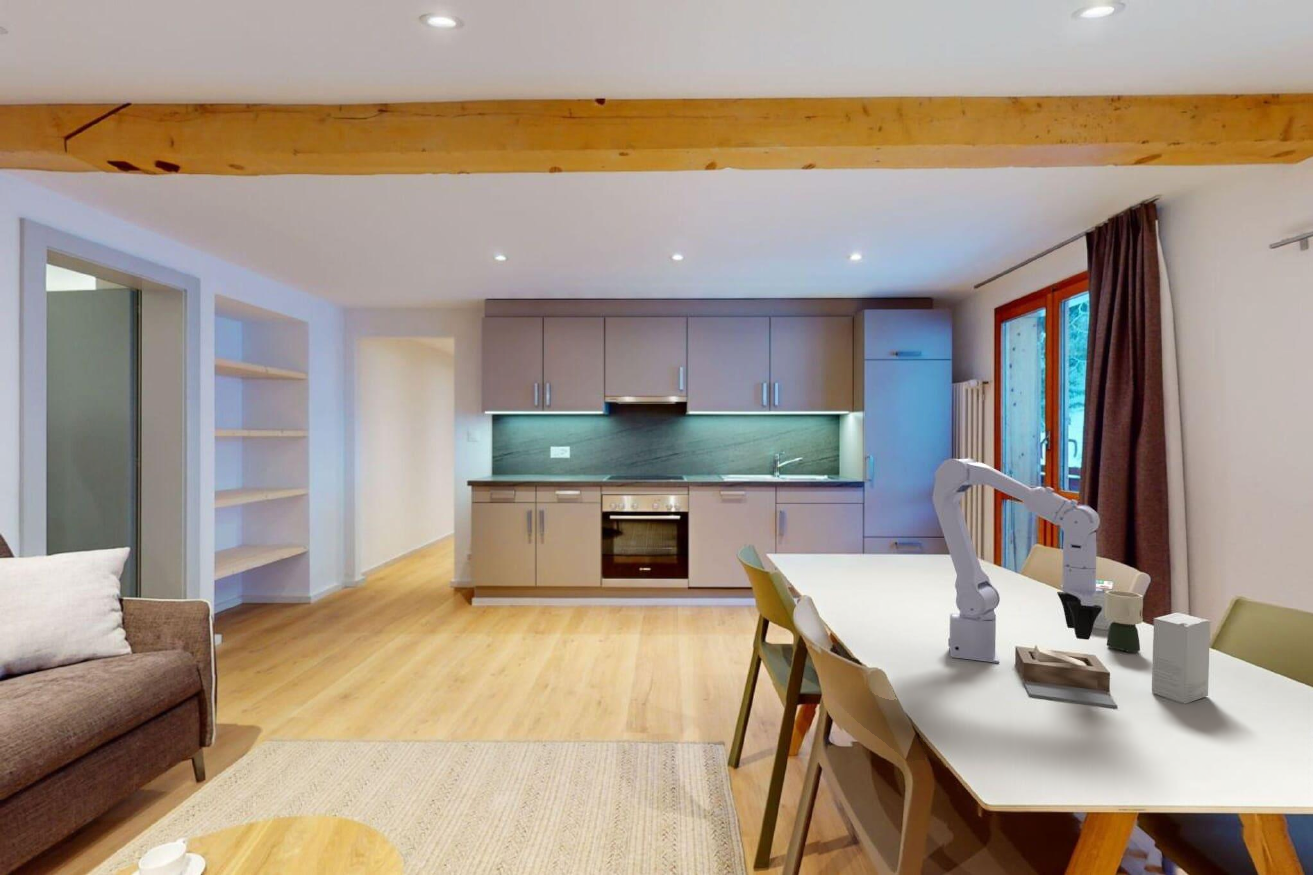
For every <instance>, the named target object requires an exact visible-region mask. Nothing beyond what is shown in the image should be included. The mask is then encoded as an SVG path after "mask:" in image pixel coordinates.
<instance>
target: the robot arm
mask: <svg viewBox="0 0 1313 875" xmlns="http://www.w3.org/2000/svg"><path fill="white" fill-rule="evenodd" d="M934 477H935V482H934V487H933V493H932V498H931V499H932V504H933V506H934V510H935V513H936V515H937V519H938V522H939V524H940V527H941V530H942V534H943V537H944V540H945V542H946V546H947V548H948V552H949V554H950V555H949V556H950V558H951V561H952V564H953V567H954V570H955V573H956V577H955V582H954V588H955V590H956V597H955V604H956V607H957V609H958V610H959V613H950V615H949V637H948V640H947V641H948V642H947V644H948V649H949V652H950V658H954V659H955V658H957V659H961V660H962V659H963V660H970V661H971V660H972V661H979V662H989V663H995V664H996V663H1000V659H999V657H998V654H997V651H996V638H997V637H996V628H997V627H996V626H997V624H996V621H997V615H996V613H995V609H996V608H997V607H998V606H999V604H1000V601H1001V600H1000V599H1001V597H1000V593H999V591H998V590H997V588H995V586H994V585H993V584H992V583H991V581H990V578H989V576H988V575H987V574H986V573H985V571H983V570H982V567H981V563H980V561H979V557H978V555H977V553H976V550H975V547H974V543H973V541H972V537H971V534H970V532H969V528H968V525H967V522H966V519H965V517H964V514H963V510H962V508H961V504H960V501H961V499H962V498H963V496H964V495H965V493H966V491H968V490H969V489H970V488H972V487H973V486H976V485H978V486H979V485H981V486H982V485H983V486H989V487H990V488H993V489H995V490H997V491H999V492H1002V493H1004V494H1006V495H1008V496H1011V497H1013V498H1015V499H1018V500H1019V501H1021V502H1023V505H1024V507H1025V509H1026V510H1027V511H1028V512H1030V513H1032V514H1033V515H1035V516H1038V517H1039V518H1042V519H1043V520H1046V521H1048V522H1050V523H1051V524H1053V525H1056V526H1059V527H1060V529H1061V530H1062V531H1063V542H1062V573H1061V574H1062V576H1061V577H1062V580H1061V582H1062V584H1061V585H1060V590H1061V591H1057V592H1056V594H1057V596H1058V598H1059V600H1060V603H1061V606H1062V608H1063V613H1064V618H1065V623H1066V627H1067V628H1068V629H1073V630H1074V634H1075V637H1076V639H1077V640H1078V639H1079V640H1086V641H1087V640H1090V638H1091V635H1092V632H1093V629H1094V628H1093V625H1094V622H1095V620H1096V618H1097V616H1098V615H1099V613H1100V612H1101V610H1102V607H1101V606H1100V605H1094V596H1095V595H1096V594H1103V590H1101V589H1098V588H1096V580H1097V547H1098V546H1097V532H1096V530H1097V529H1098V528H1099V526H1100V523H1101V519H1100V515H1099V514H1098V512H1097V511H1095V509H1093V508H1092V507H1091V506H1090V505H1087V504H1078V502H1079V501H1078V500H1076V499H1071V500H1070V499H1068V498H1066V497H1063V496H1062V495H1059V494H1058V493H1056V492H1055V489H1054V488H1052V487H1050V486H1046V487H1043V486H1037V487H1034V488H1031V487H1029V486H1027V485H1026V484H1024V483H1022V482H1020V481H1018V480H1016V479H1014V478H1012V477H1011V476H1009V475H1007V474H1005V473H1003V472H1001V471H999V470H997V469H995V468H994V467H991V466H990V465H988V464H985V463H983V462H978V461H976V460H975V459H972V458H970V457H966V458H959V459H957V458H949V459H948V458H947V459H945V460H944V461H942V463H941V464H940V465H939V467H938V468H937V469H936V471H935V472H934Z"/></svg>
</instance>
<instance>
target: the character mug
mask: <svg viewBox="0 0 1313 875" xmlns="http://www.w3.org/2000/svg"><path fill="white" fill-rule="evenodd" d="M1143 609H1144V597H1143V595H1142V594H1139V593H1136V592H1132V591H1124V590H1114V589H1113V590H1112V591H1106V593H1105V617H1106V619H1108V620H1110V621H1112V623H1111V624H1110V627H1109V630H1108V633H1107V639H1106V646H1107V647H1109V648H1112V649H1116V650H1117V649H1118V650H1121V651H1123V652H1124V653H1127V651H1130V652H1135V653H1136V652H1140V651H1141V644H1140V638H1139V631H1138V628H1137V626H1136V625H1139V624H1142V623H1143V621H1144V618H1143V617H1144V616H1143Z"/></svg>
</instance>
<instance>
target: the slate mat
mask: <svg viewBox="0 0 1313 875" xmlns="http://www.w3.org/2000/svg"><path fill="white" fill-rule="evenodd" d="M1022 681H1023V680H1022ZM1022 684H1023V685H1024V689H1025V690H1026V692H1027V694H1028V696H1029V697H1031V698H1038V699H1045V700H1051V701H1059V702H1068V703H1075V704H1081V705H1088V706H1089V705H1090V706H1097V707H1105V708H1110V709H1111V708H1112V709H1118V704H1117V703H1116V701H1114V699H1113V698H1112V696H1111V695H1110V694H1109V692H1107V691H1100V690H1092V689H1084V688H1076V687H1069V686H1061V685H1053V684H1045V683H1037V682H1030V681H1023V683H1022Z"/></svg>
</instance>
